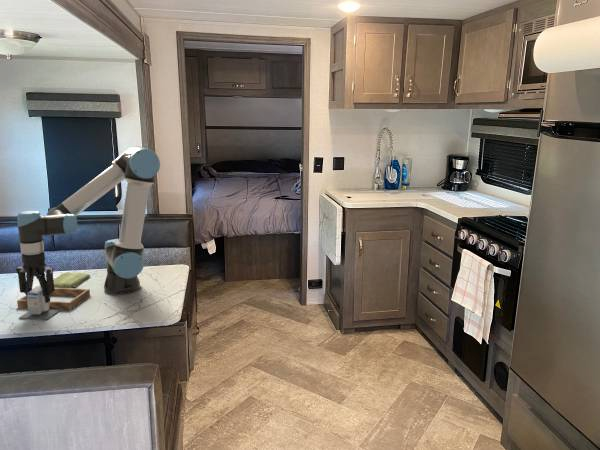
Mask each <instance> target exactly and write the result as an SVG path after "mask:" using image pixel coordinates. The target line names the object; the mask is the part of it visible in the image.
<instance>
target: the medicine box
mask: <svg viewBox="0 0 600 450" xmlns="http://www.w3.org/2000/svg"><path fill="white" fill-rule="evenodd" d="M26 295H27V303H28V308H27V312H29V314H41V313H42V312H43V304H42V295H43V291H42V289H41V286H40V285H36V286H35V287H32V290H31V291H29V292H28V293H27V294H25V296H26ZM49 306H50V302H49Z"/></svg>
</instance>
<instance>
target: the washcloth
mask: <svg viewBox="0 0 600 450" xmlns="http://www.w3.org/2000/svg"><path fill="white" fill-rule="evenodd" d="M90 277H91V274H88V273H82V272H69V271H67V272H65V273H62V274H60V275H58V276H56V278H53V280H54V288H74V289H76V288H77V287H78V286H79V285H81V284H82V283H83V282H84V281H86V280H87V279H89V278H90Z"/></svg>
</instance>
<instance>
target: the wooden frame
mask: <svg viewBox="0 0 600 450" xmlns="http://www.w3.org/2000/svg"><path fill="white" fill-rule="evenodd" d="M54 289H55V291H54V292H52V293H51V294H50V296H69V297H72V296H73V297H74V298H72V299H70V301H62V300H61V301H59V300H57V301H55V300H50V306H49V309H61V311H62V310H65V311H66V310H67V311H71V310H72V309H75V307H77V306H78V305H80V304H81V303H82V302H83V301H86V300H87V298H89V297H90V296H91V291H90V288H54ZM16 301H17V302H16V304H17V308H20V309H21V308H22V309H28V303H27V301H26V295H25V296H23V297H21V298H19V299H17V300H16Z"/></svg>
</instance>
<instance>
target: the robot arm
mask: <svg viewBox="0 0 600 450" xmlns="http://www.w3.org/2000/svg"><path fill="white" fill-rule="evenodd" d="M160 167H161V161H160V158H159V156H158V154H157V153H155V152H154V151H153V150H152V149H150V148H147V147H143V146H139V145H138V146H137V145H136V146H132V147H129V148H128V149H126V150H125V151H124V152H122V153H121V154H120V155H119V156H117V158H115V159H114V160H112V162H111V165H110V166H109V167H107V168H106V169H105V170H104V171H102V172H101V173H100V174H98V175H97V176H96V177H94V178H93V179H92V180H89V182H88V183H86V184H85V185H83V186H82V187H80V188H79V189H78V190H77V191H76V192H74V193H73V194H72V195H71V196H69V197H68V198H66V199H65V200H64V201H62V202H61V203H60V204H58V205H57V206H56V207H52V208H50V209H49V210H48V211H47V212H46V215H42V214H41V212H40V211H39V210H27V211H26V210H25V211H21V212H18V214H17V216H16V217H17V218H16V219H17V229H18V237H19V246H20V253H21V262H22V264H23V265H21V266H19V267H17V268H15V270H16V272H17V278H18V285H19V286H18V287H19V292H20V293H21V294H25V296H26V301H27V295H26V294H27V293H28V292H29V291H31V290H32V289H33V286H34V277H36V279H37V280H38V283H39V286H41V289H42V291H43V295H42V304H43V311H47V310H48V309H49V302H50V301H51V295H50V294H51V293H52V292H54V291H55V289H54V271H55V270H54V267H48V266H47V264H46V254H45V251H44V250H45V246H44V244H45V243H44V236H45V237H46V236H55V235H69V234H75V233H77V232H78V220H77V216H79V215H80V214H81V213H82V212H83V211H84V210H86V209H87V208H88V207H90V206H91V205H92V204H94V203H95V202H96V201H98V200H99V199H101V198H102V197H103V196H105V195H106V194H107V193H108V192H109V191H111V190H112V189H114V188H115V187H116V186H118V184H120V183H121V182H123V181H124V180H125V181H126V182H127V186H126V192H125V199H124V203H123V204H124V205H123V211H122V219H121V223H120V230H119V236H118V237H119V238H115V239H108V240H106V241H105V242H104V250H105V261H106V262H105V263H106V277H105V281H104V283H103V284H104V285H103V290H104V292H105V293H106V294H108V295H126V294H130V293H133V292H136V291H138V290H140V288H141V282H140V280H139V277H138V275H139V274H141V273H142V271H143V269H144V266H145V265H144V262H145V261H144V259H143V255H144V254H143V253H144V248H145V246H144V245H143V243H142V236H143V231H144V224H145V218H146V211H147V204H148V198H149V192H150V187H151V186H152V185H154V184H155V180H156V175H157V174H158V173H159V171H160V169H161V168H160Z"/></svg>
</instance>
